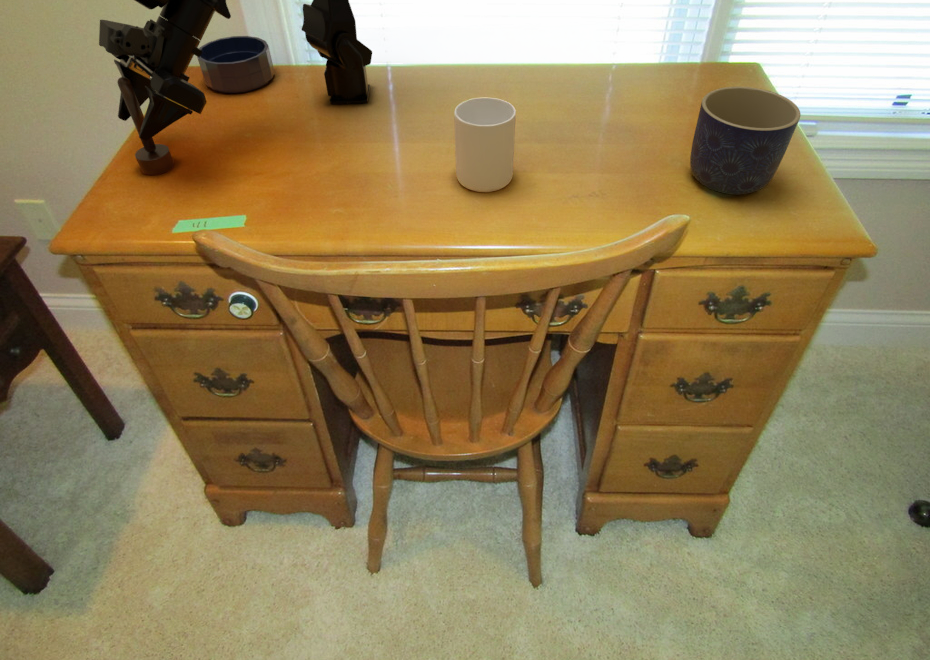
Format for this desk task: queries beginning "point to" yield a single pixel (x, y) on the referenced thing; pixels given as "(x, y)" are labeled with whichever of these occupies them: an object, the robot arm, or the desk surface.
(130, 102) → the brown plunger
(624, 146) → the desk surface
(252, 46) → the bowl
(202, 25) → the robot arm
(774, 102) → the planter
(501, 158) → the mug
